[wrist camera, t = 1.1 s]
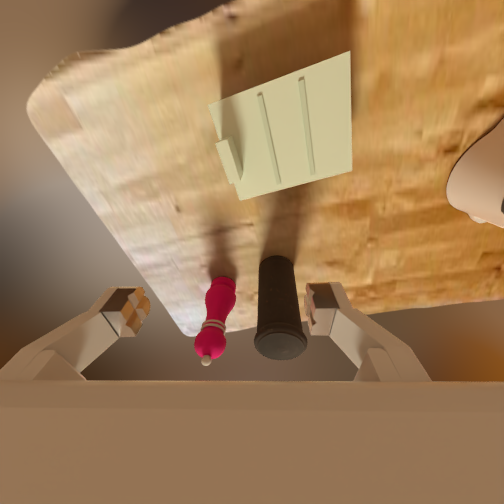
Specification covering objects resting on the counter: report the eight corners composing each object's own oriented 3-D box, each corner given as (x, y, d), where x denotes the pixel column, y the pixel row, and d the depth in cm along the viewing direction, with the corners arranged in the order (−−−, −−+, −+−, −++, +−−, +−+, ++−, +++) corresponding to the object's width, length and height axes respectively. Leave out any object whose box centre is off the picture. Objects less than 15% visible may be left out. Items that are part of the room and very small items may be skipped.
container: (255, 281, 51) (250, 362, 35) (260, 251, 46) (257, 331, 30) (289, 285, 51) (301, 367, 35) (298, 256, 46) (316, 337, 30)
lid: (345, 54, 24) (366, 39, 19) (348, 167, 31) (364, 179, 26) (210, 104, 27) (198, 104, 22) (241, 196, 34) (236, 212, 29)
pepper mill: (227, 270, 50) (208, 350, 33) (243, 289, 53) (233, 370, 37) (203, 281, 52) (176, 360, 36) (220, 298, 56) (202, 377, 39)
